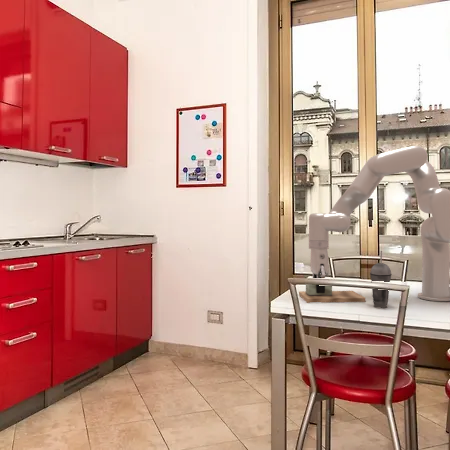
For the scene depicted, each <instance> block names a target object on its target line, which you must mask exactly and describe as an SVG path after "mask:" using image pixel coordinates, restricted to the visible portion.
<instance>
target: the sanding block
mask: <svg viewBox="0 0 450 450" xmlns="http://www.w3.org/2000/svg"><path fill="white" fill-rule="evenodd" d="M305 291H306V294H307V295H308V296H332V291H333V285H332V286H325V293H316V285H306V284H305Z"/></svg>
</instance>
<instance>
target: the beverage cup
mask: <svg viewBox="0 0 450 450" xmlns="http://www.w3.org/2000/svg"><path fill="white" fill-rule="evenodd" d="M379 255H380V257H379V258H380V259H379V260H380V262H376V263H375V264H374V265H373V266H372V267H371V268H370V272H369V275H370V280H371V282H372V281H384V282H390V283H391V280H392V271H391V270H392V269H391V268H390V266H389V265H387V264H386V263H384V262H383V251H382V250H380V254H379ZM371 291H372V303H373V307H374V308H376V309H377V308H378V309H387V308H388V302H389V294H390V290H389V291H388V290H378V289H372V288H371Z"/></svg>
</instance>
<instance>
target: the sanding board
mask: <svg viewBox="0 0 450 450" xmlns="http://www.w3.org/2000/svg"><path fill="white" fill-rule="evenodd" d="M298 296H299V297H301V299H303V300H304V301H305V303H307V304H311V303H310V302H321V303H363V302H364V303H366V297H365V296H364V295H361V294H359V293H357V292H356V291H354V290H332V296H308V295H307V294H306V290H304V291H301V290H299V291H298Z"/></svg>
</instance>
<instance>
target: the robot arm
mask: <svg viewBox="0 0 450 450" xmlns="http://www.w3.org/2000/svg"><path fill="white" fill-rule="evenodd" d="M399 173H406V174H408V176H409V177H410V178H411V181H412V184H413V186H414V191H415V195H416V201H417V205H418V207H419V209H420V211H421V212H423V214H431V216H430V217H427V218H425V220H423V222H422V224H421V225H420V238H421V246H422V247H421V248H422V249H421V252H422V253H421V254H422V262H421V263H422V264H421V269H422V270H421V292H418V293H417V298H419V299H421V300H424V301H430V302H431V301H432V302H450V245H449V243H450V189H447V188H445V187H441V186H440V182H439V179H438V175H437V172H436V169H435V168H434V167H433V165H432V164H431V163H430V162H429V161H428V153H427V151H426V149H425V148H424V147H422V146H420V145H412V146H407V147H403V148H399V149H395V150H389V151H386V152H381V153H378V154H376V155H373V156H371V157H370V158H369V159H368V160H367V161H366V162H365V164H364V165H363V167H362V168H361V169H360V171H359V172H358V174H357V175H356V177H355V179H353V181H352V183H351V184H349V187H348V188H346V190H345V191H344V193H343V194H342V195H341V196H340V198H339V199H338V200H337V202H335V204H334V205H333V207H332V208H331V210H330V211H329V212H328V213H323V212H320V213H319V212H318V213H317V212H315V213H310V214H309V216H308V249H309V250H310V272H311V273H312V278H326V276H328V275H329V274H330V271H329V270H330V269H329V254H328V253H329V252H328V250H329V248H330V247H329V245H330V244H329V243H330V240H329V238H330V237H329V235H330V234H329V232H334V233H343V232H344V233H345V232H346V231H348V230H349V229H350V227H351V225H352V220H351V218H350V216H351V215H352V213H353V212H354V211H355V210H356V209H357V208H358V207H359V206H360V205H362V204H364V203H365V202H366V201H367V200H369V199H370V198H371V196H372V194H373V193H374V191H375V190H376V189H377V187H378V186H379V184H381V181H382V180H383V179H384V177H385V176H390V175H396V174H399ZM316 293H325V286H319V285H316Z"/></svg>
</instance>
